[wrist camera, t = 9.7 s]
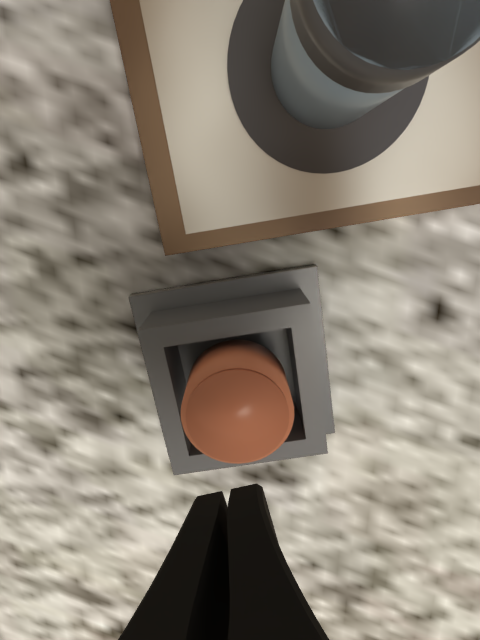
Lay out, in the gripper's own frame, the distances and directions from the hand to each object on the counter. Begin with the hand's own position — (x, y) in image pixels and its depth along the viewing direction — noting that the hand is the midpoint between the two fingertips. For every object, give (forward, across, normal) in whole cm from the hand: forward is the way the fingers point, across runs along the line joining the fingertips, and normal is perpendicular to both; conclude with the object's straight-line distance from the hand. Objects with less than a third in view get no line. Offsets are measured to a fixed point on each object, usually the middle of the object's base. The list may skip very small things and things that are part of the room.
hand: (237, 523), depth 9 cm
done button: (+7, 0, 0) cm, 7 cm away
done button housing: (+9, 0, 0) cm, 9 cm away
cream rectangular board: (+9, -6, -10) cm, 15 cm away
